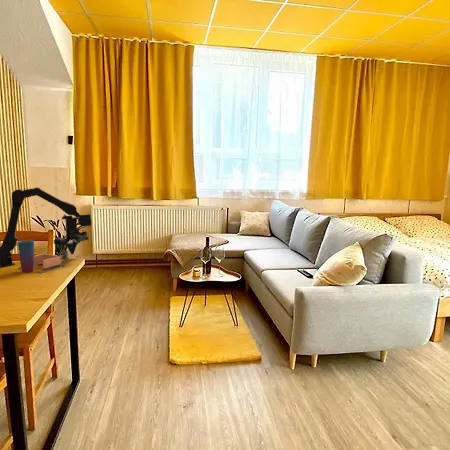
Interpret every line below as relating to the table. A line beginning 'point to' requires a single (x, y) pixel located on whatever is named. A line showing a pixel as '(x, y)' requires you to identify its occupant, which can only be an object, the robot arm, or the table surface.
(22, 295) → the table surface
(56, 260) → the caddy
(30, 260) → the cup
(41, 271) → the rails
